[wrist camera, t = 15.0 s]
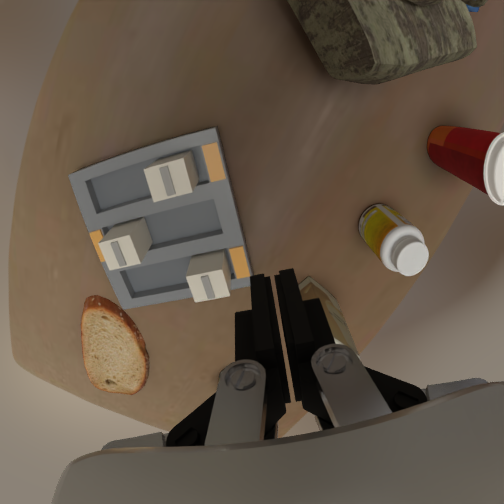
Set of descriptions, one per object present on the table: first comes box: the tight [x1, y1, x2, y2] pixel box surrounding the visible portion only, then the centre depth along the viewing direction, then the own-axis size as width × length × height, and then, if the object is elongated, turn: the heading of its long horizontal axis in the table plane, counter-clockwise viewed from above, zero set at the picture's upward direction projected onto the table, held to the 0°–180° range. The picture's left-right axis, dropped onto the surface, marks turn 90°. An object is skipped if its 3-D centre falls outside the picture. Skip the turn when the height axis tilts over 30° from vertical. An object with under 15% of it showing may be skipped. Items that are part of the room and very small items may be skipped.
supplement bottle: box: [359, 204, 428, 276], centre depth 34 cm, size 6×6×10 cm
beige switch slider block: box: [144, 150, 199, 202], centre depth 31 cm, size 3×4×6 cm
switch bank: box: [68, 126, 254, 309], centre depth 36 cm, size 19×18×3 cm
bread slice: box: [81, 295, 149, 395], centre depth 45 cm, size 18×18×4 cm
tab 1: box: [98, 217, 153, 270], centre depth 34 cm, size 3×4×6 cm
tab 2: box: [186, 248, 231, 302], centre depth 36 cm, size 3×4×6 cm
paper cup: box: [427, 126, 504, 205], centre depth 28 cm, size 8×8×14 cm
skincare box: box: [298, 276, 360, 359], centre depth 38 cm, size 6×4×12 cm
